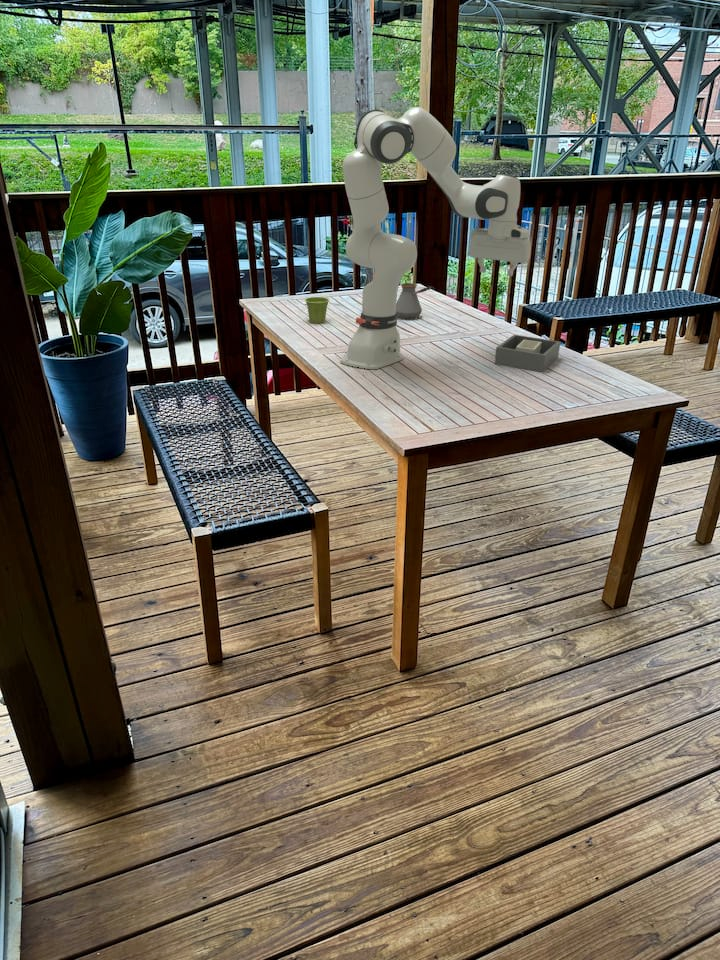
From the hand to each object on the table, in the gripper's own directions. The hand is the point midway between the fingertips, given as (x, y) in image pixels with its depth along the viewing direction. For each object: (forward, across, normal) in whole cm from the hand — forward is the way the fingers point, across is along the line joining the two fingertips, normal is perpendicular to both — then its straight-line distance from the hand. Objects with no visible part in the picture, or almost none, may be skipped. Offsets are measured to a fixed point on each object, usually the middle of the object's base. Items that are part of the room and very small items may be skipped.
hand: (496, 274), depth 217 cm
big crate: (+26, +16, -6) cm, 31 cm away
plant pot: (+26, -70, -2) cm, 75 cm away
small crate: (+25, +16, -6) cm, 30 cm away
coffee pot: (+25, -39, +22) cm, 52 cm away
